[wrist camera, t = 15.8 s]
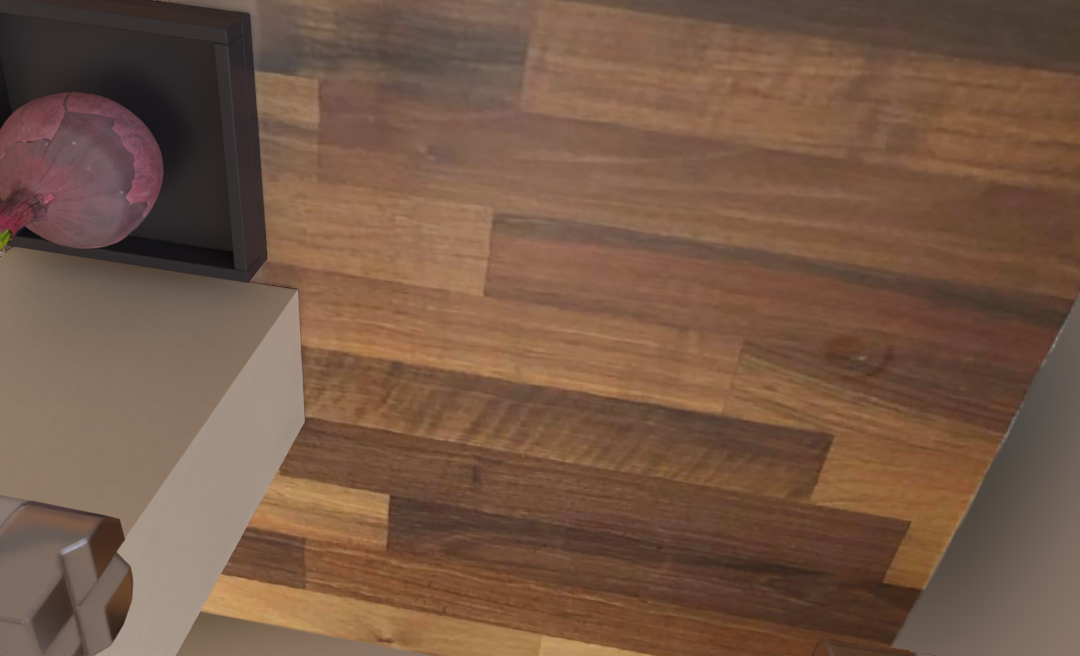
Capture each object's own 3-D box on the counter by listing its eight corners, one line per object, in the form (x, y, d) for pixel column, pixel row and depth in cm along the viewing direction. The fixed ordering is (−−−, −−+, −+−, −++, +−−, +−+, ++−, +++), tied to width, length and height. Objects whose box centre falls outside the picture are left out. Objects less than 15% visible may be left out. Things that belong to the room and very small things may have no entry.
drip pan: (-19, -24, 38) (-56, -11, 36) (250, 13, 37) (226, 29, 35) (36, 223, 44) (7, 246, 42) (267, 259, 43) (248, 283, 42)
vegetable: (39, 145, 41) (-128, 253, 33) (86, 32, 38) (-84, 119, 29) (163, 226, 42) (34, 349, 34) (220, 123, 39) (93, 230, 31)
